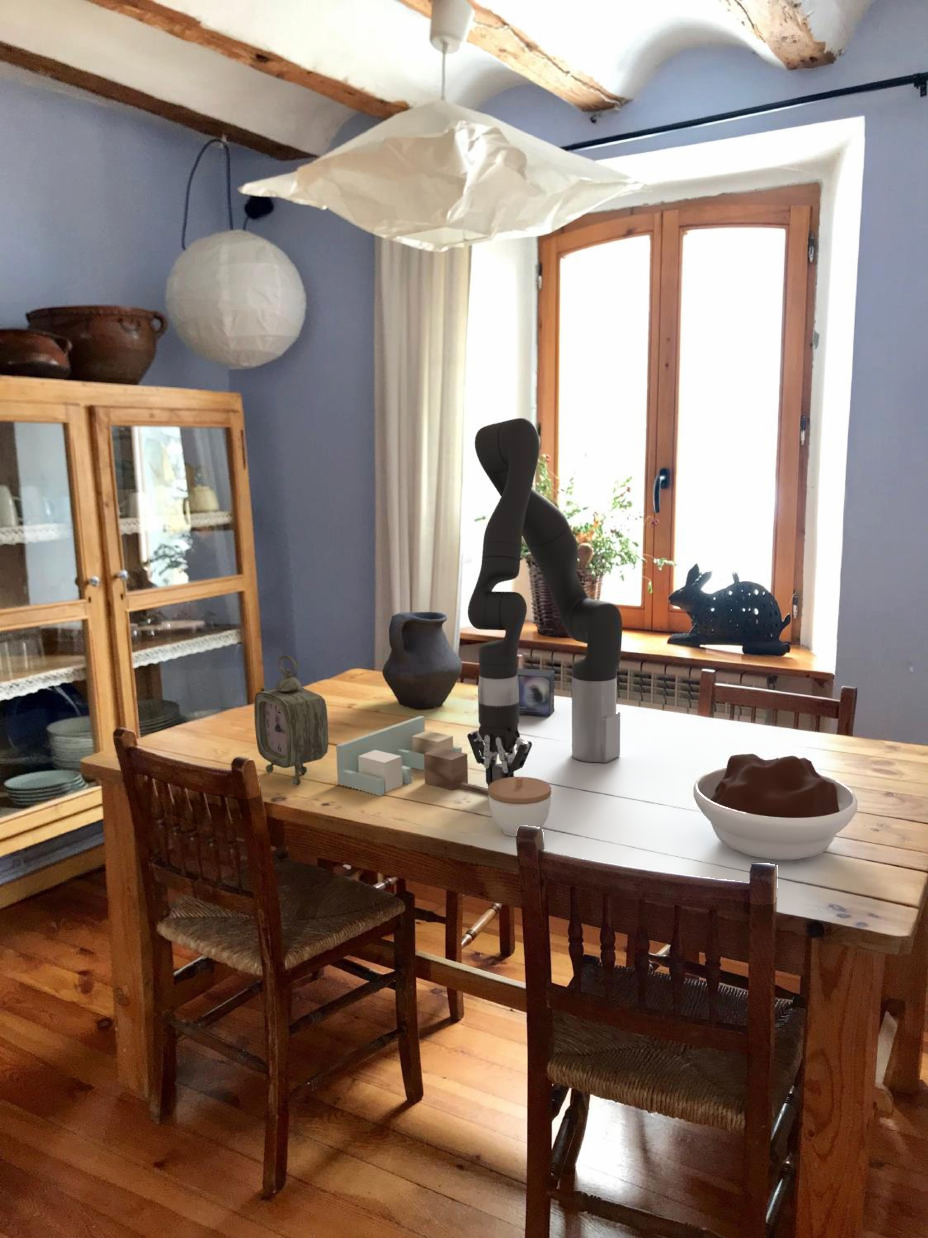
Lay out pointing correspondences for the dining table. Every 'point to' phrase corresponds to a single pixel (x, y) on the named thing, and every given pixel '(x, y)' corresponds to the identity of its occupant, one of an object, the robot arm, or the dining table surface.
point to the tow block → (452, 770)
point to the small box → (536, 692)
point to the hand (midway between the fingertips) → (499, 788)
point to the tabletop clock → (290, 724)
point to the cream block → (382, 767)
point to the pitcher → (420, 660)
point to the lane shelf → (383, 740)
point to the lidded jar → (519, 803)
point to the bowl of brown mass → (774, 806)
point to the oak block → (431, 742)
